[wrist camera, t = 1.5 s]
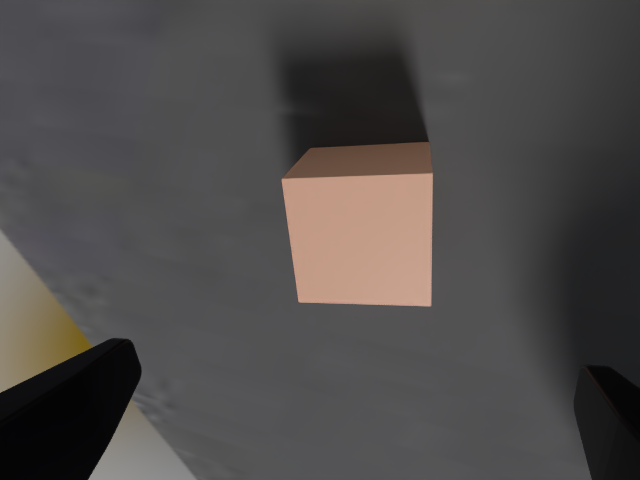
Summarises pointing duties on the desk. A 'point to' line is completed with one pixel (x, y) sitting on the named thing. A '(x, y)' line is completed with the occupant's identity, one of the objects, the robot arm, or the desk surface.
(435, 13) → the desk surface
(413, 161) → the cube
